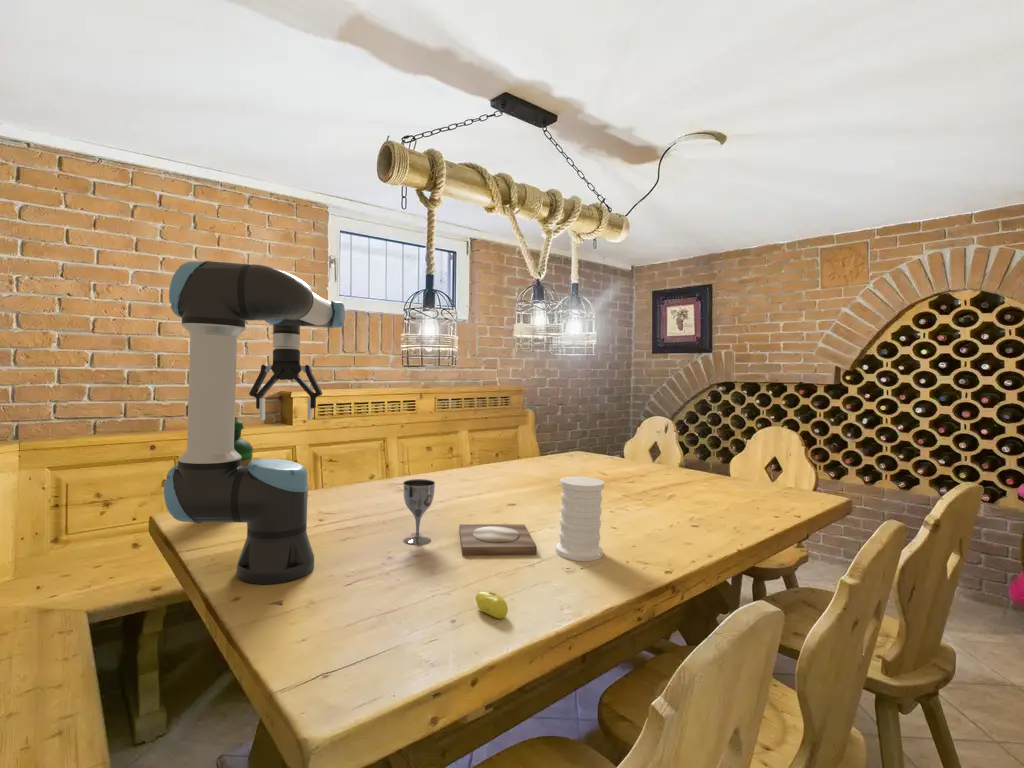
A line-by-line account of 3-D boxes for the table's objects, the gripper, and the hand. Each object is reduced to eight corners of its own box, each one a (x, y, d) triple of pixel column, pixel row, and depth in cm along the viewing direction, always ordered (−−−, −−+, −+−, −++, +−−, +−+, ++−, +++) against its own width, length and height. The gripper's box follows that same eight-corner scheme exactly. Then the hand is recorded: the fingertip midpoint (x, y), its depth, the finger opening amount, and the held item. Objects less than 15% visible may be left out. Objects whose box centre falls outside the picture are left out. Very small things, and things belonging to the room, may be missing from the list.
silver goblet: (405, 534, 141) (407, 478, 141) (435, 536, 141) (437, 479, 141) (398, 544, 133) (400, 485, 133) (429, 546, 133) (431, 486, 133)
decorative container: (599, 564, 126) (602, 488, 125) (551, 557, 129) (554, 483, 128) (605, 548, 137) (608, 478, 136) (560, 542, 140) (563, 474, 139)
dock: (536, 554, 130) (536, 544, 130) (462, 555, 128) (462, 545, 128) (524, 531, 148) (524, 522, 148) (459, 531, 146) (459, 523, 146)
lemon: (494, 625, 94) (495, 603, 94) (469, 608, 101) (470, 587, 100) (513, 619, 97) (514, 598, 97) (488, 602, 103) (488, 582, 103)
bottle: (239, 519, 149) (241, 419, 148) (201, 517, 149) (203, 417, 148) (258, 509, 160) (260, 415, 159) (223, 507, 160) (225, 414, 159)
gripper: (332, 350, 165) (332, 418, 165) (247, 349, 162) (246, 419, 162) (327, 348, 158) (326, 420, 157) (237, 347, 155) (237, 420, 154)
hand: (286, 420), depth 160 cm, fingers open, 13 cm apart
